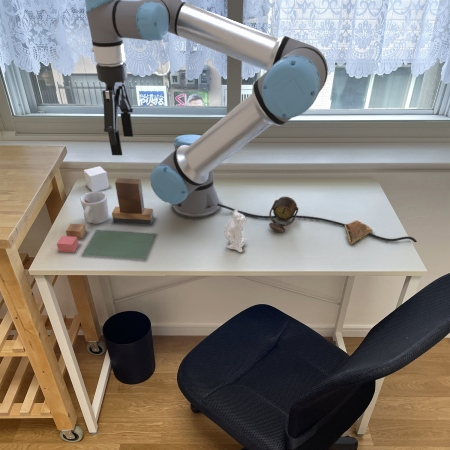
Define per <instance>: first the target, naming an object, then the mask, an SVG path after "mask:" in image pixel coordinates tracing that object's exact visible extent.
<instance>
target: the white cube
mask: <svg viewBox="0 0 450 450" xmlns="http://www.w3.org/2000/svg"><path fill="white" fill-rule="evenodd" d="M83 173H84V178H85V182H86V187H87V188H88V189H89V190H90V191H91V192H93V191H99V192H101V191H104V190H108V189H110V184H109V178H108V172H107V171H106V170H105V169H104V168H103V167H102V166H100V165H98V166H94V167H91V168H86V169H83Z"/></svg>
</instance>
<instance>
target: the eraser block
mask: <svg viewBox="0 0 450 450" xmlns="http://www.w3.org/2000/svg"><path fill="white" fill-rule="evenodd" d="M79 245H80V243H79V239H77V237H70V236H67V235H61V237H60V238H59V240H58V241H57V242H56V246H57V251H58V252H63V253H75V251H76V250H77V248H78V246H79Z"/></svg>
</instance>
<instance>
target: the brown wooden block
mask: <svg viewBox="0 0 450 450" xmlns="http://www.w3.org/2000/svg"><path fill="white" fill-rule="evenodd" d="M114 184H115V185H114V186H115V191H116V197H117V203H118V206H114V208H113V210H112V212H111V216H112V221H113V223H114V224H129V225H130V224H132V225H146V226H147V225H149V226H151V225H152V224H153V221H154V219H155V217H154V216H155V215H154V209H153V208H147V207H145V203H144V202H145V201H144V194H143V188H142V180H141V179H140V178H125V177H123V178H122V177H117V178H116V180H115V182H114Z"/></svg>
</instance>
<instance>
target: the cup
mask: <svg viewBox="0 0 450 450" xmlns="http://www.w3.org/2000/svg"><path fill="white" fill-rule="evenodd" d="M79 198H80V199H79V201H80V203H81V207H82V209H83V218H84V221H85V222H86V223H89V224H90V223H91V224H94V225H97V224H98V225H99V224H102V223H105V222H107V220H108V218H109V207H108V206H109V204H108V196H107V194H106V193H105V192H103V191H89V192H86V193H84V194H82V195H81V196H80V197H79Z"/></svg>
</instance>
